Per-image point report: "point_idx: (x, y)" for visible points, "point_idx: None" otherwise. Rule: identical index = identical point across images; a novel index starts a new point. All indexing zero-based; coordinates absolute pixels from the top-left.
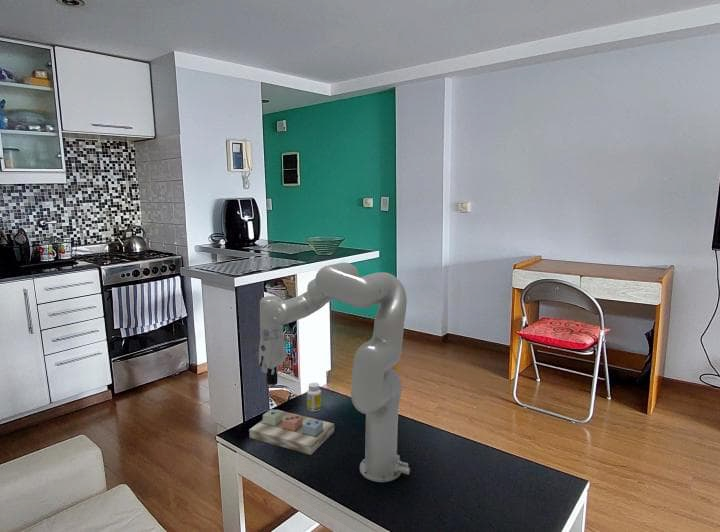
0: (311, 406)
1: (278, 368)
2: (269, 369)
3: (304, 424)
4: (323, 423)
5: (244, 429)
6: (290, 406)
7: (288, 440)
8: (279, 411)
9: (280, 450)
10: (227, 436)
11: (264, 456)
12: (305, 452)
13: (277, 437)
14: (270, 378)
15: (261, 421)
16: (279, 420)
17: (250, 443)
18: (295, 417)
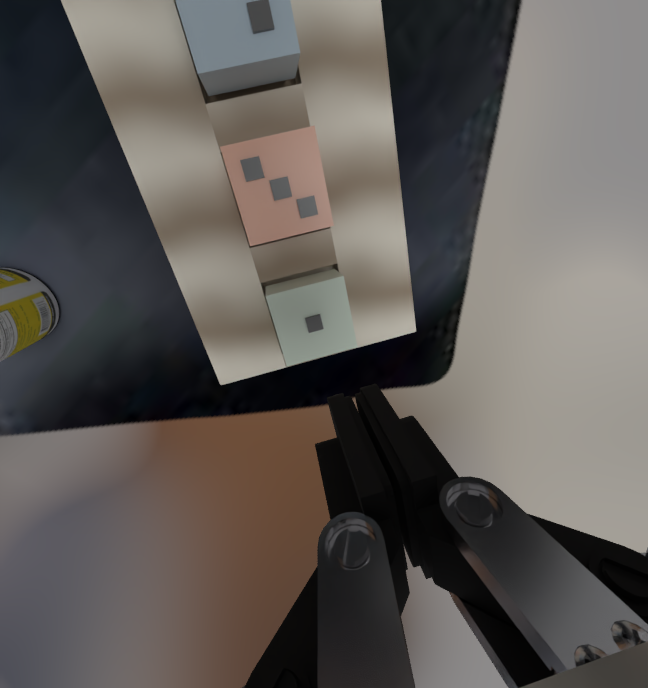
0: (32, 297)
1: (319, 592)
2: (645, 602)
3: (285, 43)
4: (110, 39)
5: (370, 379)
6: (113, 400)
7: (390, 98)
8: (275, 314)
9: (405, 136)
10: (434, 380)
11: (471, 161)
12: None
13: (398, 177)
14: (439, 462)
15: None
16: (297, 280)
17: (428, 285)
18: (264, 175)
